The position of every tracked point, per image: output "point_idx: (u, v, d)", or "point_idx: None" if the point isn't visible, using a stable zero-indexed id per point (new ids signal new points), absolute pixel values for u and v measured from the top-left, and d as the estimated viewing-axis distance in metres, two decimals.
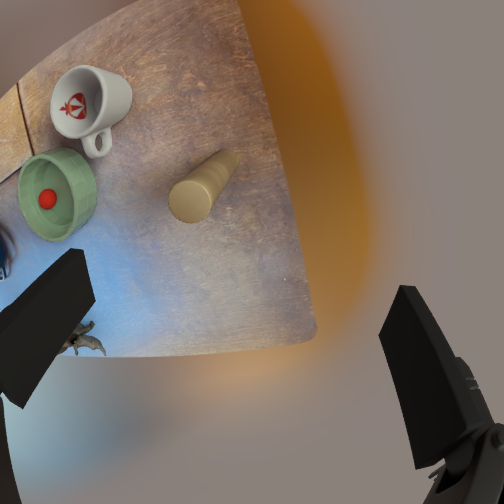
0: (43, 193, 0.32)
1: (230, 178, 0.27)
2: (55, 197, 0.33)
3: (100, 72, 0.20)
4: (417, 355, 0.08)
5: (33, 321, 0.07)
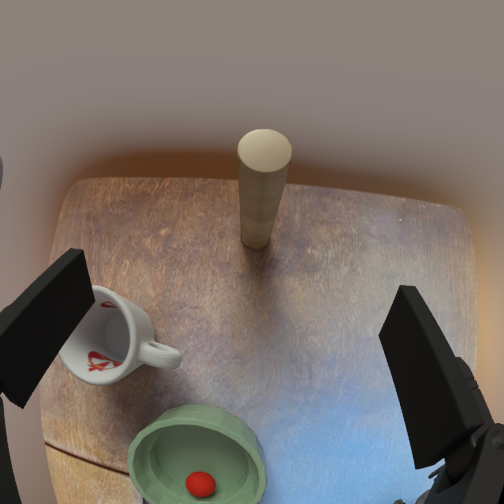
0: (188, 483, 0.20)
1: None
2: (204, 472, 0.21)
3: None
4: (417, 355, 0.08)
5: (33, 321, 0.07)
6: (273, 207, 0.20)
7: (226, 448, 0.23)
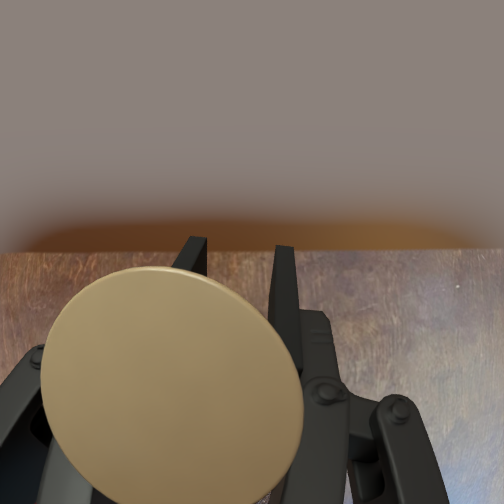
0: None
1: None
2: None
3: None
4: (272, 304, 0.10)
5: None
6: None
7: None
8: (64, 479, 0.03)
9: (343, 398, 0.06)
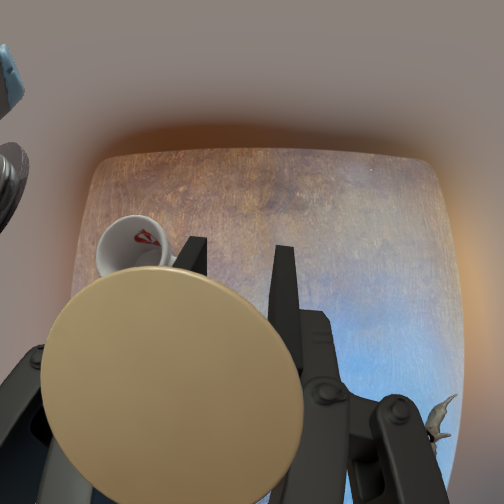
0: None
1: None
2: None
3: None
4: (272, 304, 0.10)
5: None
6: None
7: None
8: (64, 479, 0.03)
9: (343, 398, 0.06)
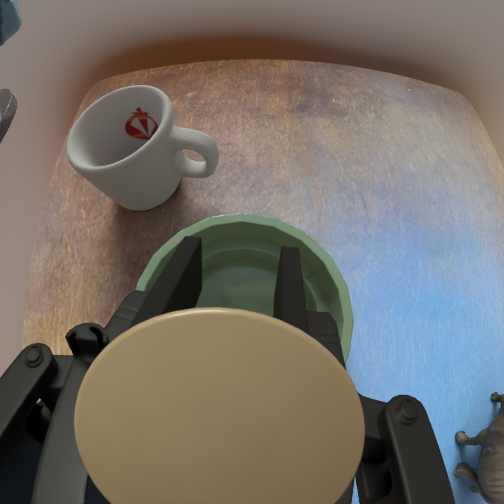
0: None
1: None
2: None
3: None
4: (278, 305, 0.10)
5: (175, 307, 0.09)
6: None
7: None
8: (58, 477, 0.03)
9: None
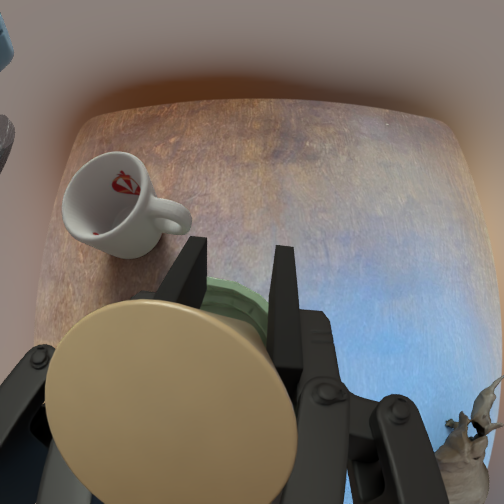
0: None
1: (251, 327, 0.12)
2: None
3: None
4: (272, 304, 0.10)
5: None
6: None
7: None
8: (64, 479, 0.03)
9: (343, 398, 0.06)
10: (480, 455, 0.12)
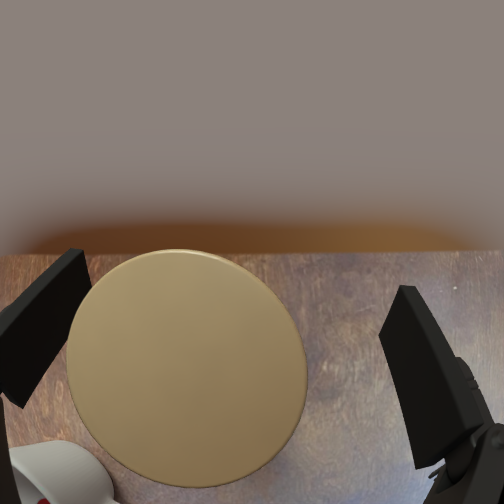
0: None
1: None
2: None
3: None
4: (417, 355, 0.08)
5: (33, 321, 0.07)
6: None
7: None
8: None
9: None
10: None
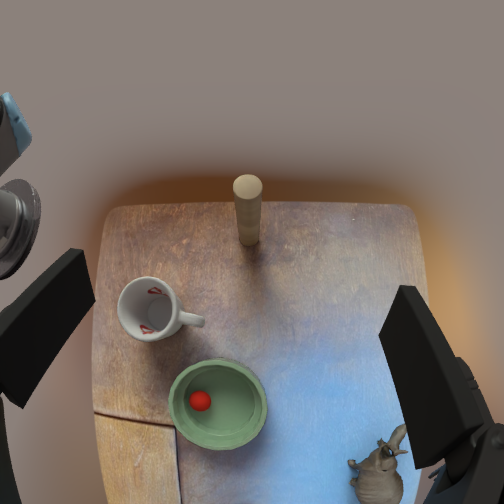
0: None
1: None
2: (195, 403, 0.33)
3: (136, 279, 0.34)
4: (417, 355, 0.08)
5: (33, 321, 0.07)
6: (256, 217, 0.33)
7: (238, 390, 0.36)
8: None
9: None
10: (387, 469, 0.25)
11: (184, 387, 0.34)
